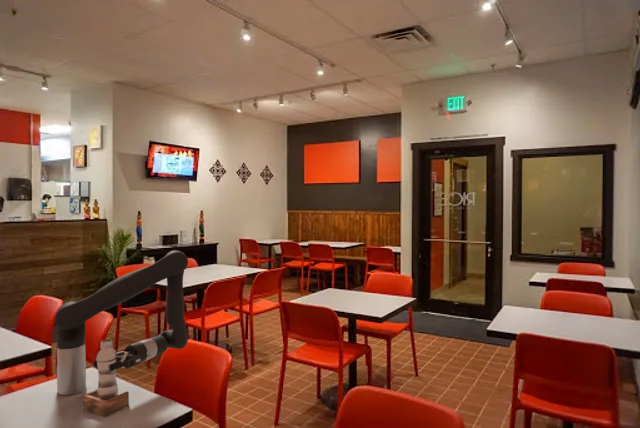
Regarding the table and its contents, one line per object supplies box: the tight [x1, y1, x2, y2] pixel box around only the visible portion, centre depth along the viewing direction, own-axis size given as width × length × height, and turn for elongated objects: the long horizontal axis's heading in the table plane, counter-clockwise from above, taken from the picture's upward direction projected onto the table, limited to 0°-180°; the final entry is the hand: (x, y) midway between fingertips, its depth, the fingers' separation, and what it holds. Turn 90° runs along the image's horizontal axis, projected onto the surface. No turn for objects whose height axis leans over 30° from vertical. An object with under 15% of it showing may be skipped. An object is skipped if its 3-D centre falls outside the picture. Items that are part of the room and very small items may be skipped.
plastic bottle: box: [95, 339, 119, 400], centre depth 152 cm, size 6×7×20 cm
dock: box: [82, 388, 130, 418], centre depth 151 cm, size 12×9×5 cm
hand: (101, 366), depth 150 cm, fingers open, 8 cm apart
